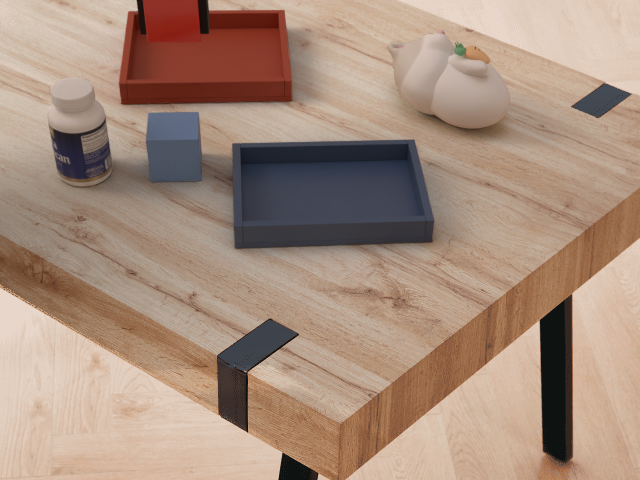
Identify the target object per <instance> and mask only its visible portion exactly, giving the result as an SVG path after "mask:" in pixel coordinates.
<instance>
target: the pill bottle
mask: <svg viewBox="0 0 640 480" xmlns="http://www.w3.org/2000/svg"><path fill="white" fill-rule="evenodd" d="M49 90H50V98H51V102H52V105H50V107H49V109H48V110H47V124H48V130H49V134H50V141H51V146H52V152H53V157H54V162H55V168H56V171H57V175H58V177H59V178H60V180H61V181H62V182H63V183H65V184H67V185H71V186H73V187H81V188H82V187H83V188H84V187H91V186H95V185H98V184H100V183H102V182H104V181H105V180H107V179H108V178H109V177H110V175H111V174H112V172H113V159H112V158H113V157H112V152H111V145H110V137H109V132H108V131H109V130H108V124H107V123H108V122H107V116H106V111H105V108H104V105H102V103H101V102H99V100H97V99H96V92H95V87H94V84H93V83H92V82H91V80H88V79H87V78H84V77H80V76H79V77H78V76H72V77H71V76H70V77H64V78H62V79H59V80H57V81H55V82H54V83H53V84H52V85H51V87H50V89H49Z"/></svg>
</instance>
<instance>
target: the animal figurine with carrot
mask: <svg viewBox="0 0 640 480" xmlns="http://www.w3.org/2000/svg"><path fill="white" fill-rule="evenodd" d="M386 45H387V46H386V49H387V51H388V53H389V54H390V56H391V58H392V61H391V67H392V69H393V78H394V82H395V86H396V89H397V91H398V93H399V95H400V96H401V97H402V98H403V99H404V100H405V102H407V103H408V104H409V105H410V106H411V107H412V108H414V109H415V110H417V111H418V112H420V113H422V114H425V115H431V116H436V117H437V118H439V119H440V120H441V121H443V122H445V123H447V124H448V125H451V126H454V127H456V128H457V127H458V128H462V129H472V130H473V129H474V130H475V129H483V128H488V127H490V126H493V125H495V124H496V123H498V122H500V121H501V120H502V119H504V117H505V116H506V115H507V113H508V111H509V109H510V106H511V95H510V90H509V88H508V85H507V82H506V81H505V80H504V78H503V76H502V75H501V73H499V71H498V70H497V68H495V67H494V66H493V65H492V64H490V63H491V58H490V57H489V56H488V54H487V53H486V52H484V51H483V50H481V49H480V48H479V47H478V46H475V45H467V46H464V45H463V44H462V42H460V43H459V41H456V42H454V43H453V42H452V40H451V39H450V38H449V37H448V36H447V35H446V32H445V30H444V29H440V30H439V31H438V32H432V33H427V34H425V35H423V36H421V37H418V38H416V39H414V40H411V41H398V40H392V41H389V42H388V43H387V44H386Z"/></svg>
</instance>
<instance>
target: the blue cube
mask: <svg viewBox="0 0 640 480" xmlns="http://www.w3.org/2000/svg"><path fill="white" fill-rule="evenodd" d="M201 135H202V134H201V122H200V112H199V111H169V112H167V111H166V112H165V111H164V112H159V111H158V112H148V113H147V123H146V135H145V146H146V153H147V162H148V163H147V164H148V171H149V180H150V183H175V182H176V183H177V182H201V181H202V168H203V167H202V166H203V165H202V163H203V160H202V157H203V149H202V137H201Z"/></svg>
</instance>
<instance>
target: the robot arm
mask: <svg viewBox="0 0 640 480" xmlns="http://www.w3.org/2000/svg"><path fill="white" fill-rule="evenodd" d="M198 1H199V13H200V26H201V34H209V23H210V19H209V10H210V7H209V6H210V5H209V0H198ZM136 8H137V11H138V17H139V25H140V33H141V35H147V32H146V23H145V15H144V6H143V0H136Z"/></svg>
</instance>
